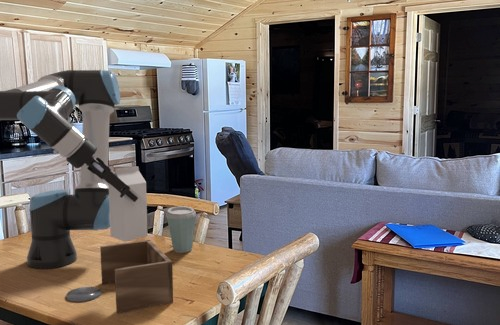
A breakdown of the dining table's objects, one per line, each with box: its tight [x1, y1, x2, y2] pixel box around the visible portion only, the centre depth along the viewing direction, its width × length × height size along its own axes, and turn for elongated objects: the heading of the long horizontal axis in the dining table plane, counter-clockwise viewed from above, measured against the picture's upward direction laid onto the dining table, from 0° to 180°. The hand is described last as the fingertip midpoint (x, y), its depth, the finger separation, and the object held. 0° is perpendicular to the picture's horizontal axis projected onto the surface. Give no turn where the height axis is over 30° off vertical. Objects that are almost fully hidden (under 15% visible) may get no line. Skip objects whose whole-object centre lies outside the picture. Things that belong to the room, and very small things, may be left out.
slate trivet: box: [65, 286, 102, 303], centre depth 129 cm, size 9×9×1 cm
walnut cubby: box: [100, 239, 174, 314], centre depth 130 cm, size 22×14×11 cm, turn 27°
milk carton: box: [108, 165, 148, 242], centre depth 127 cm, size 7×7×19 cm
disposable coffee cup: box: [165, 205, 197, 254], centre depth 167 cm, size 11×11×15 cm
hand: (139, 203), depth 129 cm, fingers closed on milk carton, 9 cm apart
